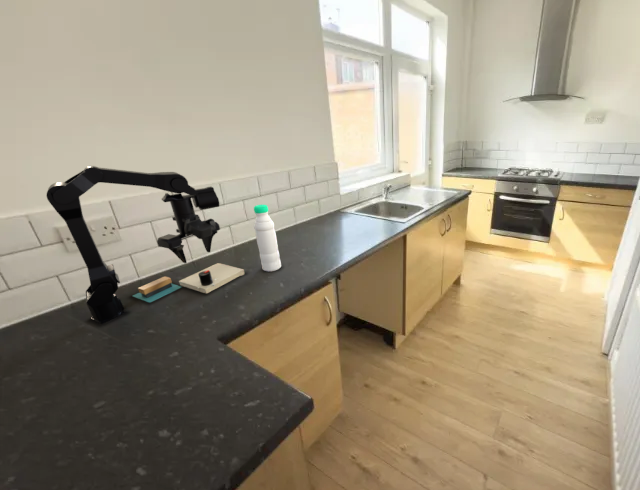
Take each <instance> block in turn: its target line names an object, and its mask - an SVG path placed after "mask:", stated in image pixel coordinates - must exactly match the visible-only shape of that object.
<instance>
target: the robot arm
mask: <svg viewBox="0 0 640 490" xmlns="http://www.w3.org/2000/svg"><path fill="white" fill-rule="evenodd" d="M98 183H101V184H115V185H124V186H125V185H126V186H135V187H136V186H137V187H146V188H147V187H149V188H154V189H157V190H161V191H165V193H164V195H163V196H162V198H161V201H162V202H164V203H170V206H171V209H172V212H173V216H172V217H171V218H172V221H175V222H176V225H177V228H175V232H176V233H178V234H170V233H168V234H165V235H161V236H159V237H158V238H157V239H156V240H157V241H156V243H157V246H158V247H159V248H164V249H168V250H170V251H171V252H172V253H173V254H174V255H175V256H176V257H177V258H178V259H179V260H180V261H181V262H182V264H187V258H186V255H185V252H184V246H185V245H184V244H183V240H185V239H188V238H191V237H196V238H197V239H198V240H201V241H202V244H203V246H204V249H205V250H206V252H207V253H211V249H212V243H213V239H214V236H215V235H216V234H218V231H221V226H220V224H219V223H218V222H217V221H215V220H214V219H213V218H208V219H206V220H201V218H200V215H199V214H196V212H195V209H197V208H198V209H199V210H200V211H202V210H208V209H214V208H219V207H220V199H219V197H218V195H217V193H216V191H215V188H214V186H206V187H201V188H195V187H193V186H191V185H190V184H189V181H188V179H187V178H186V177H185V176H184V175H183V174H180V173H178V172H176V171H160V172H141V171H133V170H124V169H115V168H108V167H107V168H106V167H100V166H99V167H98V166H95V165H88V166H86V167H84V169H83V170H82V171H79V172H78V173H77V174H75V175H73V176H71V177H69V178H68V179H67V180H65V181H57V182H54V183H52V184H50V186H49V187H47V191H46V199H47V201H48V202H49V204H50V205H51V206H52V208H53V209H54V211H55V212H56V213H57V214H58V215H59V216H60V218H61V219H63V220H64V221H65V224H66V226H67V228H68V230H69V233H70V235H71V237H72V239H73V241H74V243H75V245H76V247H77V249H78V251H79V253H80V255H81V257H82V260H83V262H84V264H85V266H86V268H87V273H88V278H89V283H90V285H89V286H88V287H87V289H86V290H85V302H86V305H87V308H88V310H89V312H90V314H91V316H92V317H91V318H90V319H91V320H93V321H95V322H97V323H98V324H101V325H103V324H106V323H108V322H110V321H113V320H114V319H116V318H118V317H121V316H123V315H126V313H127V311H126V310H125V307H124V304H123V303H122V300H121V298H120V297H118V296H117V294H115V293H117V291H118V290H119V284H120V283H121V281H120V278H119V274H118V273H116V269H115V267H114V263H112V264H109V265H107V264H106V263H105V261H104V259H103V258H102V255H101V254H100V251H99V249H98V247H97V244H96V242H95V239H94V238H93V236H92V233H91V231H90V228H89V226H88V224H87V222H86V220H85V218H84V214H83V209H82V205H81V198H80V197H81V196H82V195H84V194H85V193H87V192H88V191H89V190H90V189H92V188H93V187H94V186H95V185H97V184H98ZM168 192H169V193H168ZM170 193H173V194H170ZM183 193H184V194H186V195H183ZM194 207H195V209H194Z"/></svg>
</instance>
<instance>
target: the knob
mask: <svg viewBox="0 0 640 490" xmlns="http://www.w3.org/2000/svg"><path fill="white" fill-rule="evenodd" d="M199 272H200V271H199ZM198 275H199V278H200V282H201V285H202V286H208V285H210V284H212V283H213V280H212V276H211V273H210V271H209V270H207V271H203V272H200V273H199V274H198Z"/></svg>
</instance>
